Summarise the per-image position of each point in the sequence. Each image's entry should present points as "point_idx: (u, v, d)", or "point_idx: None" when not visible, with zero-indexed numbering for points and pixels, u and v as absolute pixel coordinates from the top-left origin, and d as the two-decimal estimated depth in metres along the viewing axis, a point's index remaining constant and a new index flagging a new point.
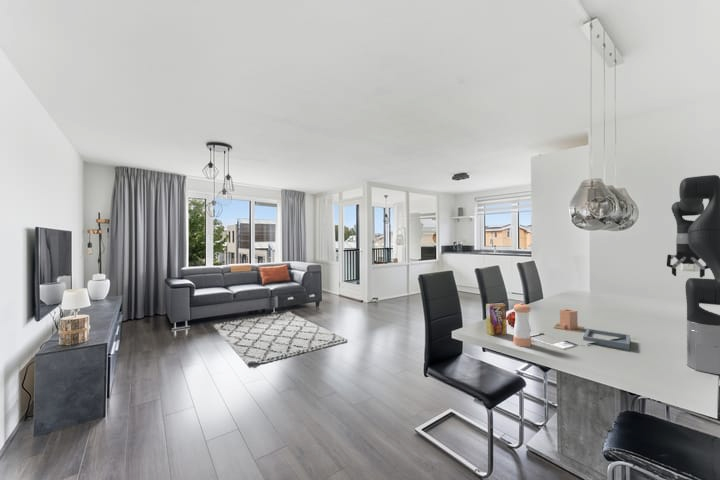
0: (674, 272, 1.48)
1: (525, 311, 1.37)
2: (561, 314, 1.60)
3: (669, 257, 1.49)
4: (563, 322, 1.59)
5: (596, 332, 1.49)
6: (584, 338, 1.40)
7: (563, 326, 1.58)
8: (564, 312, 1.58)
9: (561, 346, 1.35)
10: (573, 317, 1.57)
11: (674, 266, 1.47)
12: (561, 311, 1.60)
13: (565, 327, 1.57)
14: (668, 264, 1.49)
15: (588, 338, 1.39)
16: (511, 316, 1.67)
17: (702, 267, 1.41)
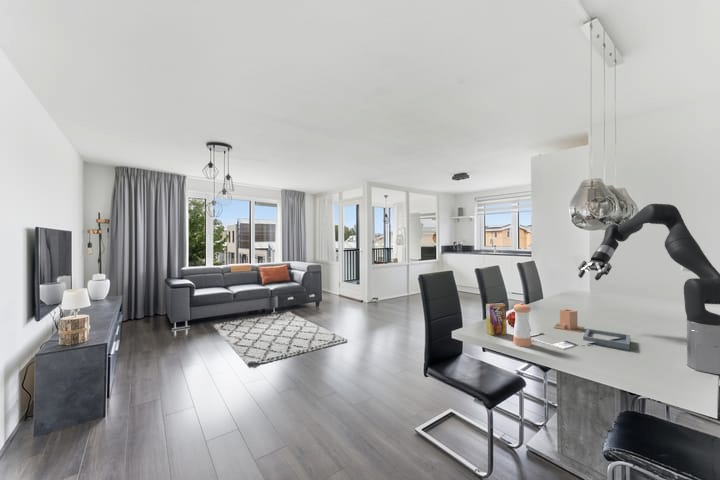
0: (580, 273, 1.67)
1: (525, 311, 1.37)
2: (561, 314, 1.60)
3: (583, 262, 1.70)
4: (563, 322, 1.59)
5: (596, 332, 1.49)
6: (584, 338, 1.40)
7: (563, 326, 1.58)
8: (564, 312, 1.58)
9: (561, 346, 1.35)
10: (573, 317, 1.57)
11: (582, 268, 1.67)
12: (561, 311, 1.60)
13: (565, 327, 1.57)
14: (579, 267, 1.70)
15: (588, 338, 1.39)
16: (511, 316, 1.67)
17: (600, 271, 1.59)
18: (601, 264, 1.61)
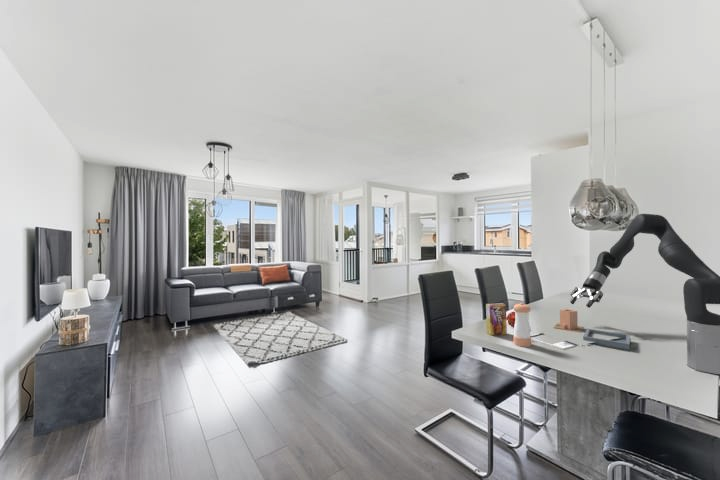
0: (571, 299, 1.66)
1: (525, 311, 1.37)
2: (561, 314, 1.60)
3: (575, 288, 1.69)
4: (563, 322, 1.59)
5: (596, 332, 1.49)
6: (584, 338, 1.40)
7: (563, 326, 1.58)
8: (564, 312, 1.58)
9: (561, 346, 1.35)
10: (573, 317, 1.57)
11: (574, 295, 1.67)
12: (561, 311, 1.60)
13: (565, 327, 1.57)
14: (571, 293, 1.69)
15: (588, 338, 1.39)
16: (511, 316, 1.67)
17: (591, 298, 1.58)
18: (593, 291, 1.60)
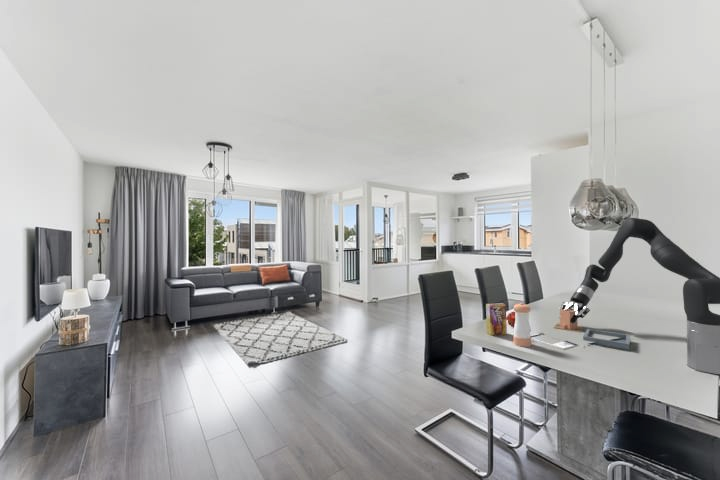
0: None
1: (525, 311, 1.37)
2: (561, 314, 1.60)
3: (562, 303, 1.66)
4: (563, 322, 1.59)
5: (596, 332, 1.49)
6: (584, 338, 1.40)
7: (563, 326, 1.58)
8: (564, 312, 1.58)
9: (561, 346, 1.35)
10: None
11: None
12: (561, 311, 1.60)
13: (565, 327, 1.57)
14: (560, 308, 1.65)
15: (588, 338, 1.39)
16: (511, 316, 1.67)
17: (575, 313, 1.56)
18: (580, 306, 1.58)
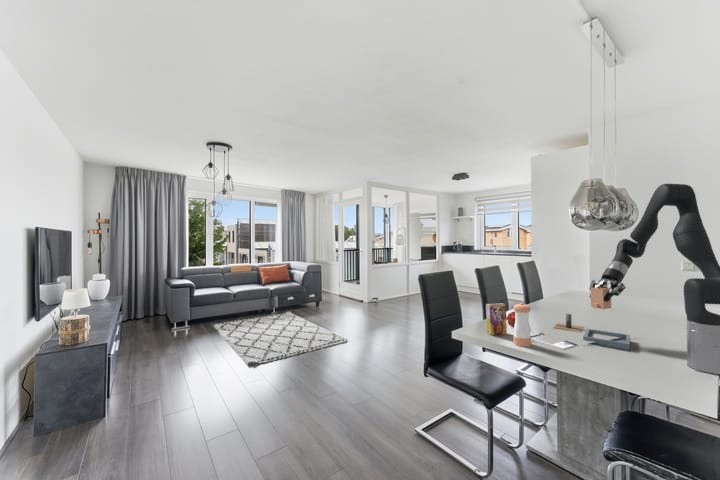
0: None
1: (525, 311, 1.37)
2: (592, 292, 1.44)
3: (592, 282, 1.50)
4: (595, 301, 1.43)
5: (596, 332, 1.49)
6: (584, 338, 1.40)
7: (595, 305, 1.41)
8: (596, 290, 1.42)
9: (561, 346, 1.35)
10: None
11: None
12: (592, 289, 1.44)
13: (598, 307, 1.41)
14: (590, 287, 1.48)
15: (588, 338, 1.39)
16: (511, 316, 1.67)
17: (609, 291, 1.40)
18: (614, 283, 1.41)
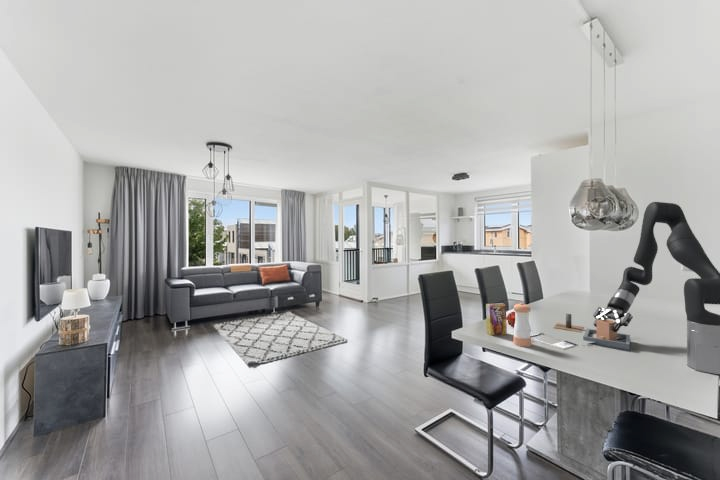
0: (595, 321, 1.45)
1: (525, 311, 1.37)
2: (598, 325, 1.42)
3: (598, 309, 1.48)
4: (601, 334, 1.41)
5: (596, 332, 1.49)
6: (584, 338, 1.40)
7: None
8: (602, 323, 1.40)
9: (561, 346, 1.35)
10: None
11: (598, 316, 1.45)
12: (598, 322, 1.42)
13: None
14: (594, 314, 1.47)
15: (588, 338, 1.39)
16: (511, 316, 1.67)
17: (618, 321, 1.37)
18: (620, 313, 1.39)
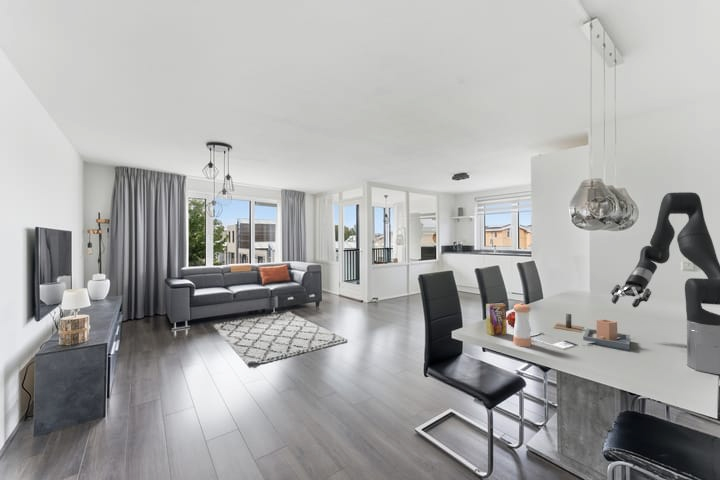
0: (613, 298, 1.49)
1: (525, 311, 1.37)
2: (598, 325, 1.42)
3: (616, 286, 1.52)
4: (601, 334, 1.41)
5: (596, 332, 1.49)
6: (584, 338, 1.40)
7: None
8: (602, 323, 1.40)
9: (561, 346, 1.35)
10: (613, 329, 1.39)
11: (616, 293, 1.50)
12: (598, 322, 1.42)
13: None
14: (612, 291, 1.52)
15: (588, 338, 1.39)
16: (511, 316, 1.67)
17: (638, 297, 1.41)
18: (639, 289, 1.43)
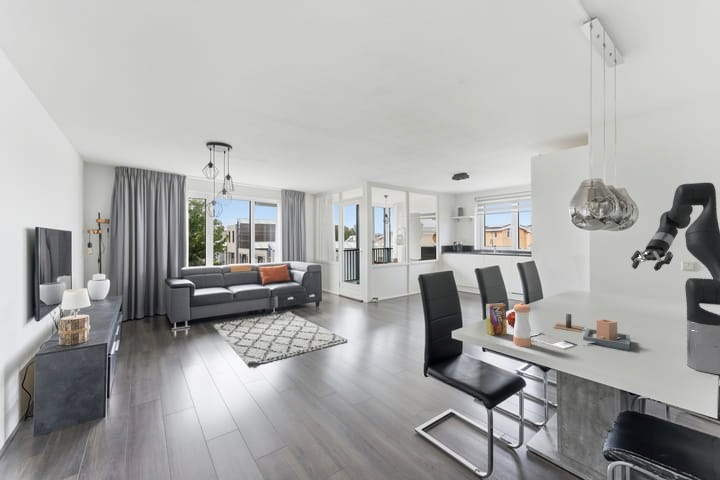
0: (634, 263, 1.48)
1: (525, 311, 1.37)
2: (598, 325, 1.42)
3: (636, 252, 1.51)
4: (601, 334, 1.41)
5: (596, 332, 1.49)
6: (584, 338, 1.40)
7: None
8: (602, 323, 1.40)
9: (561, 346, 1.35)
10: (613, 329, 1.39)
11: (636, 258, 1.49)
12: (598, 322, 1.42)
13: None
14: (632, 257, 1.51)
15: (588, 338, 1.39)
16: (511, 316, 1.67)
17: (659, 260, 1.40)
18: (660, 253, 1.42)
